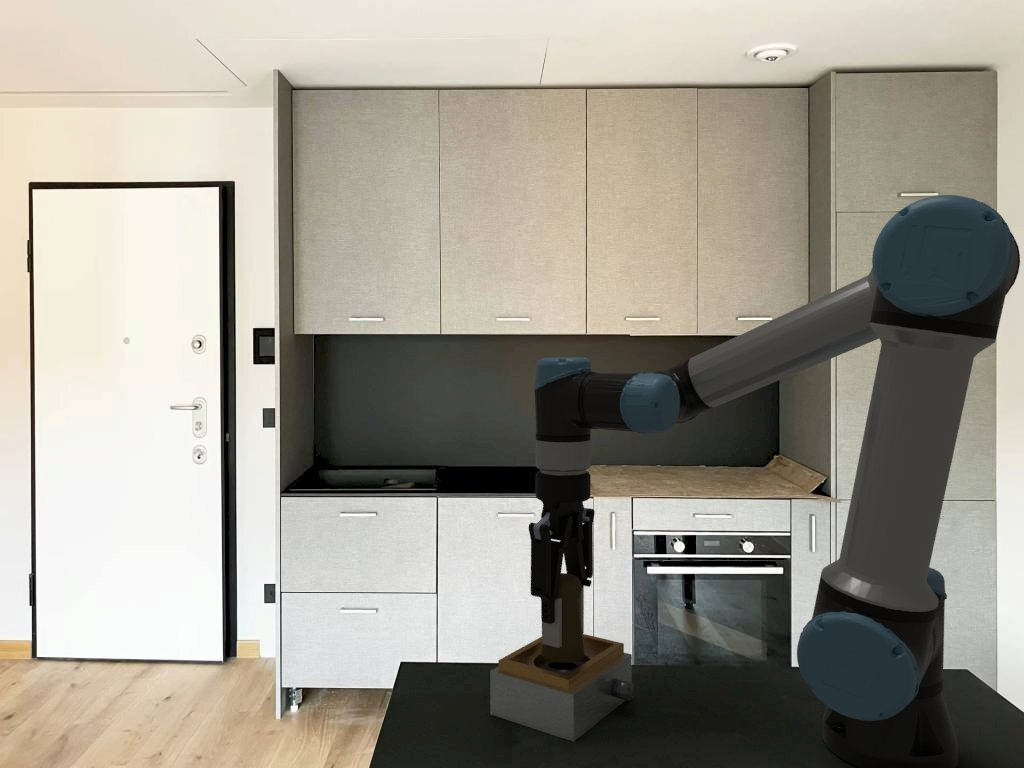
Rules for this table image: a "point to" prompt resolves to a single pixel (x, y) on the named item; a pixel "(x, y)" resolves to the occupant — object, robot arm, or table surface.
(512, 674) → the grey box with hole
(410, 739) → the table surface
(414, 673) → the table surface
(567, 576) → the cork
